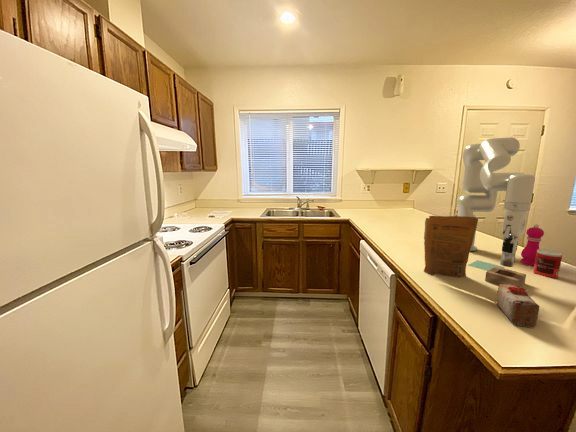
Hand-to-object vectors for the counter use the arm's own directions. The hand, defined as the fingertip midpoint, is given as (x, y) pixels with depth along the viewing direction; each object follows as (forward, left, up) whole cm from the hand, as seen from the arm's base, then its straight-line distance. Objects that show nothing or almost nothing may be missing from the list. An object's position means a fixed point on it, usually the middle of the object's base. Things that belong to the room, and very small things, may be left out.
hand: (509, 250), depth 100 cm
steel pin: (0, 0, -6) cm, 6 cm away
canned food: (+7, +24, -15) cm, 29 cm away
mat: (-11, +13, -15) cm, 22 cm away
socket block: (0, 0, -15) cm, 15 cm away
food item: (+10, -24, -15) cm, 30 cm away
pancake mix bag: (-18, -11, -15) cm, 26 cm away
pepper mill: (-1, +36, -15) cm, 39 cm away
